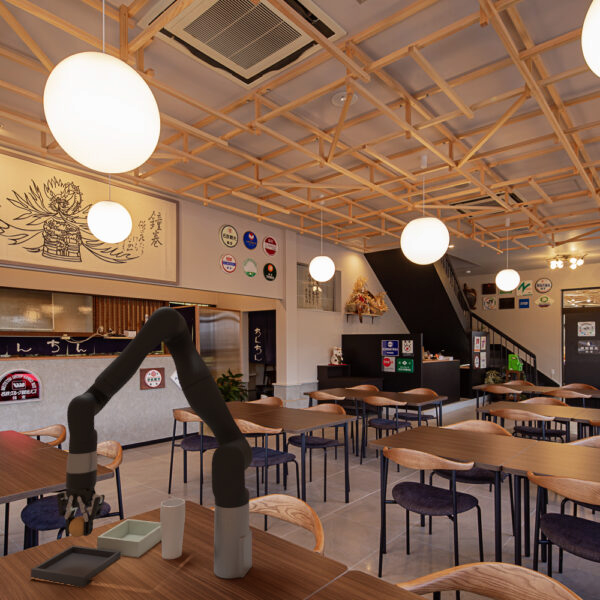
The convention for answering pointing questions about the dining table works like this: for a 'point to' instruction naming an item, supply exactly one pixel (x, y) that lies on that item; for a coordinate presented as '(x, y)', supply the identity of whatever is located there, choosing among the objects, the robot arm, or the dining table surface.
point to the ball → (77, 526)
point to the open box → (131, 537)
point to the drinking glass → (172, 527)
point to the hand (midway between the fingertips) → (78, 533)
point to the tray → (75, 565)
